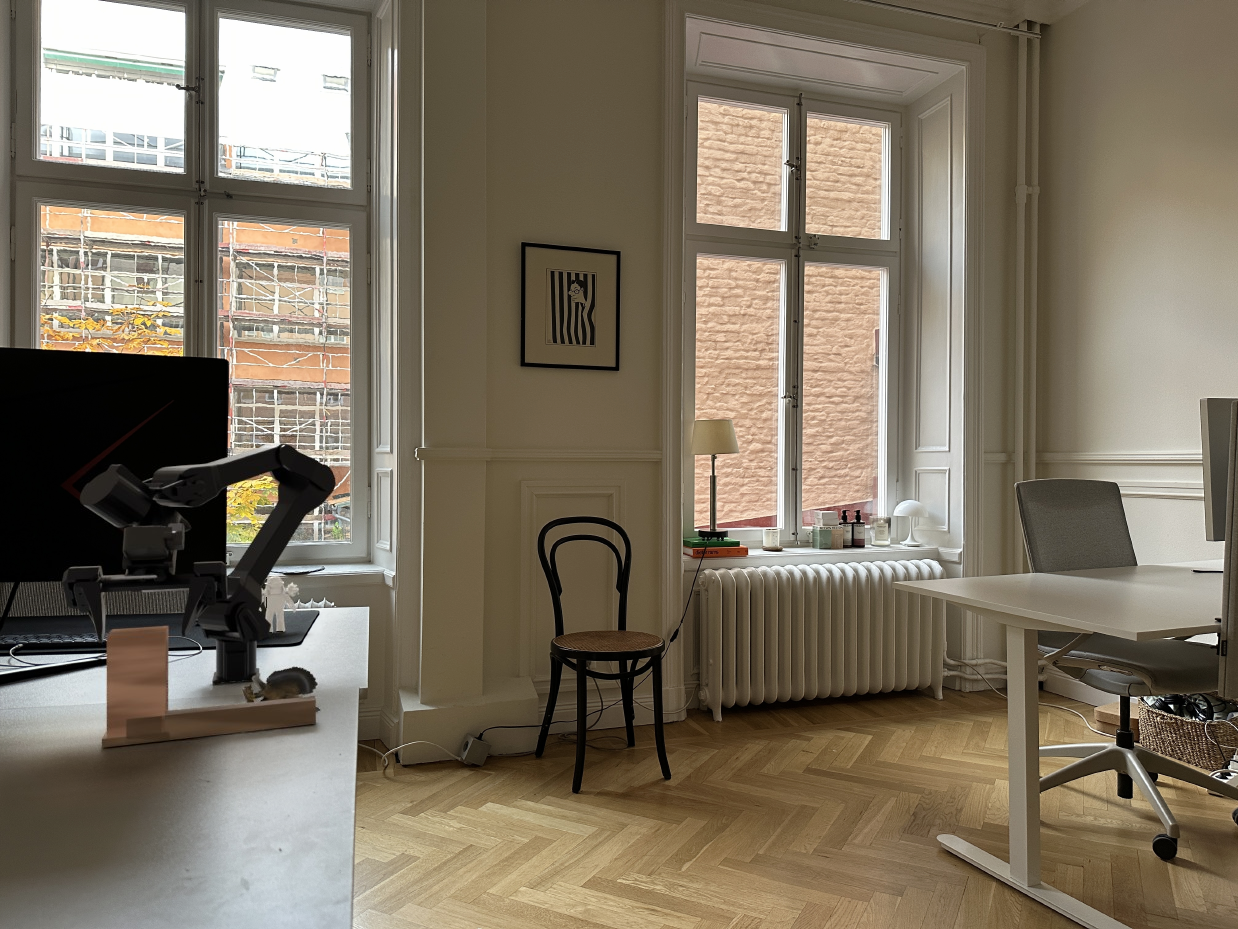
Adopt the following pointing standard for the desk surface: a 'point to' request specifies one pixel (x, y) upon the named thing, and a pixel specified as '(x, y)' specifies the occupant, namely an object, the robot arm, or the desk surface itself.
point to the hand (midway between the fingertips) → (142, 637)
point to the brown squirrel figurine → (282, 685)
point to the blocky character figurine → (278, 600)
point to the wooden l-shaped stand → (144, 698)
